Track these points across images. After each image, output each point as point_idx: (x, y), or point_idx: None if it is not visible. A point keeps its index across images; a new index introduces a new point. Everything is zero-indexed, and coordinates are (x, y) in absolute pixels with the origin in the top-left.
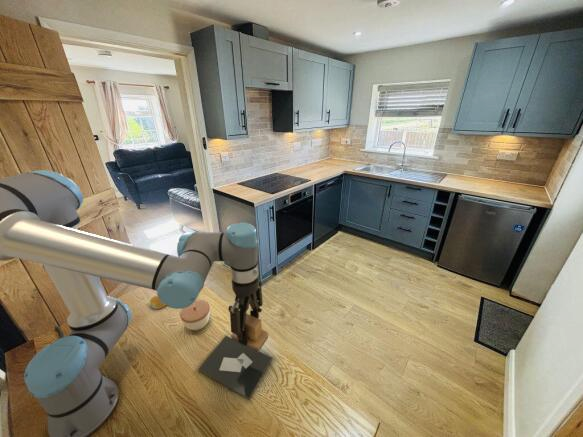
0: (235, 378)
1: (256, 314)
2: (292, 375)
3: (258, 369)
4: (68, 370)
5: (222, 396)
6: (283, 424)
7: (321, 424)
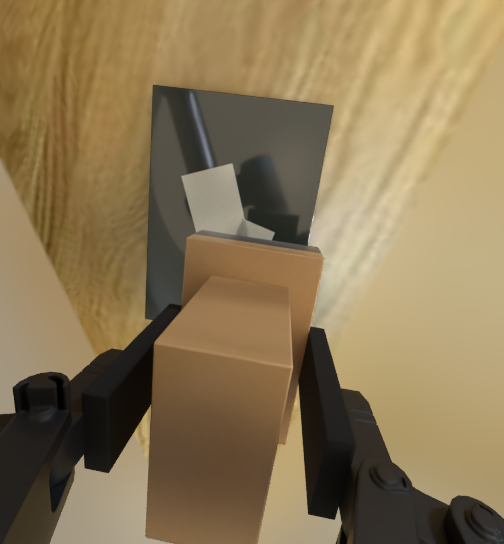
0: (178, 251)
1: (309, 502)
2: None
3: None
4: None
5: (124, 233)
6: None
7: None
